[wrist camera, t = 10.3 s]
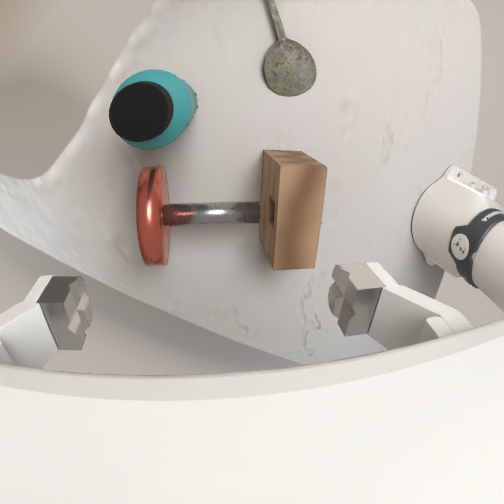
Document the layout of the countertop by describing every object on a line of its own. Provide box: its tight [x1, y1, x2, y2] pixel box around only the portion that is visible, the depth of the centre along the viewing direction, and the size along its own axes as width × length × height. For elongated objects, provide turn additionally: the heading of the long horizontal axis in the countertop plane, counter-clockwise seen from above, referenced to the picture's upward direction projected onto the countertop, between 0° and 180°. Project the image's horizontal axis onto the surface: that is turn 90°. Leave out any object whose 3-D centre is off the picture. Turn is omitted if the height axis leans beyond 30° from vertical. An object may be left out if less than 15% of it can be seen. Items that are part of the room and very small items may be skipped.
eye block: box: [259, 150, 327, 270], centre depth 37 cm, size 5×12×9 cm, turn 178°
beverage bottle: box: [109, 70, 198, 149], centre depth 25 cm, size 6×7×20 cm
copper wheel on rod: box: [136, 166, 260, 266], centre depth 34 cm, size 12×11×11 cm
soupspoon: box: [264, 0, 316, 97], centre depth 30 cm, size 22×3×7 cm
